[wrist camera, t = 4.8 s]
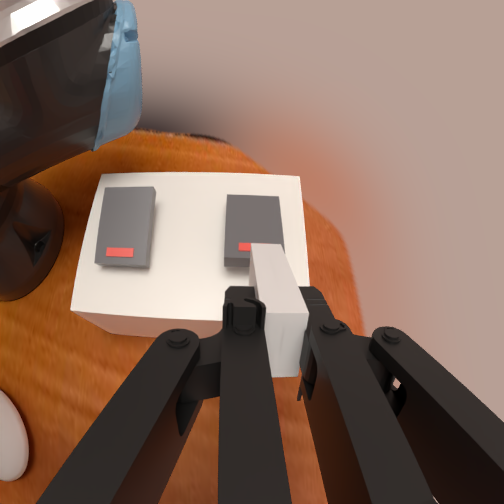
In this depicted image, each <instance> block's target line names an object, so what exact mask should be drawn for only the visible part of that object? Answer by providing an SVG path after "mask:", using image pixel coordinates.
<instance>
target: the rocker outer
mask: <svg viewBox="0 0 504 504" xmlns="http://www.w3.org/2000/svg"><path fill="white" fill-rule="evenodd" d="M251 243H261V244H281V246H282V248H283V251H284V253H285V247H284V237H283V228H282V218H281V209H280V201H279V196H260V195H232V194H227V202H226V222H225V244H224V267H250V250H251Z"/></svg>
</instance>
